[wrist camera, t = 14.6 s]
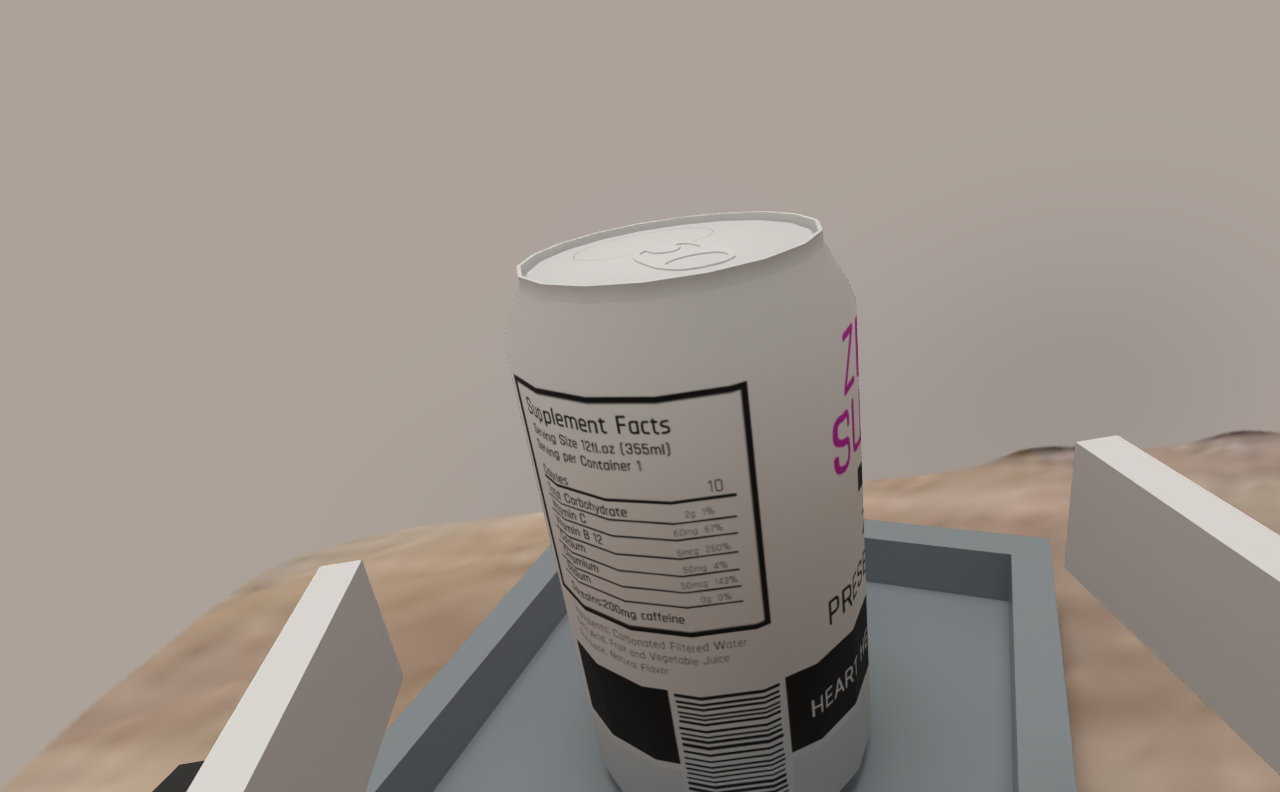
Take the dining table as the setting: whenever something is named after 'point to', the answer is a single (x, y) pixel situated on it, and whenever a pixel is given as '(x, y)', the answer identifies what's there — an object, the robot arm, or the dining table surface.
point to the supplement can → (704, 495)
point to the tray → (898, 680)
